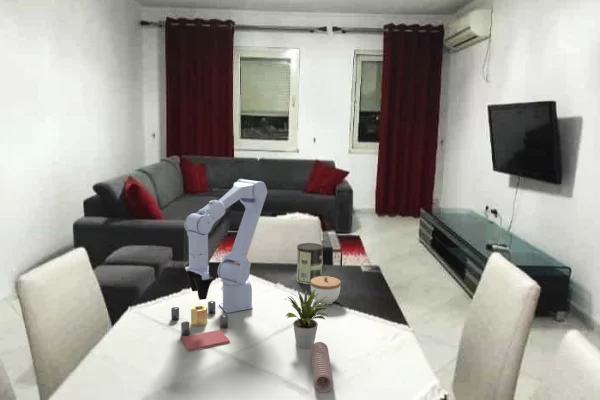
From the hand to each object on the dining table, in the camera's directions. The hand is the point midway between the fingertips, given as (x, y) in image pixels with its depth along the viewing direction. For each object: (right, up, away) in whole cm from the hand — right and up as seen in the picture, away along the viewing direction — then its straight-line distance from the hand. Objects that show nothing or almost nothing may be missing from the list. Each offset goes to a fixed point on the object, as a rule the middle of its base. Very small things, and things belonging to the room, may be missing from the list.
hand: (198, 294), depth 148 cm
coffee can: (+35, -3, +43) cm, 56 cm away
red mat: (+4, -11, -10) cm, 16 cm away
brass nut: (0, -9, +2) cm, 9 cm away
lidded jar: (+40, -7, +21) cm, 46 cm away
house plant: (+32, -12, -11) cm, 36 cm away
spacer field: (0, -9, +2) cm, 9 cm away
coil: (+37, -15, -25) cm, 47 cm away
